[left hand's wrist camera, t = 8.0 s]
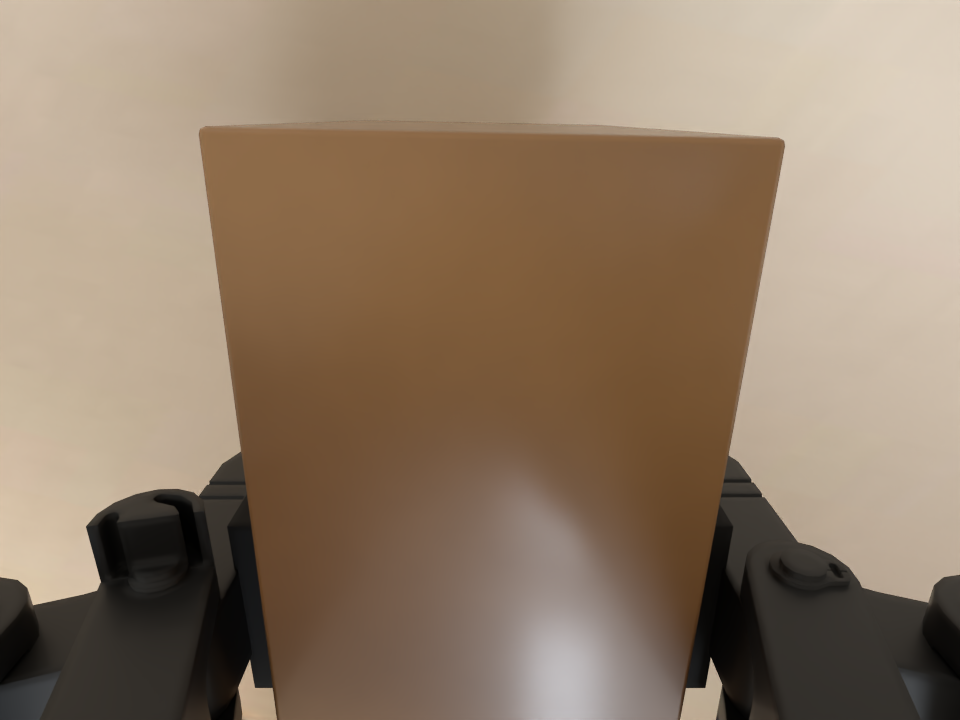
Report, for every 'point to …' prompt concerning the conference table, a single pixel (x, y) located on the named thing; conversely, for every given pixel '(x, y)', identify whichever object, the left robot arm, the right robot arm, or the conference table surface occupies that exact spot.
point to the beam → (485, 404)
